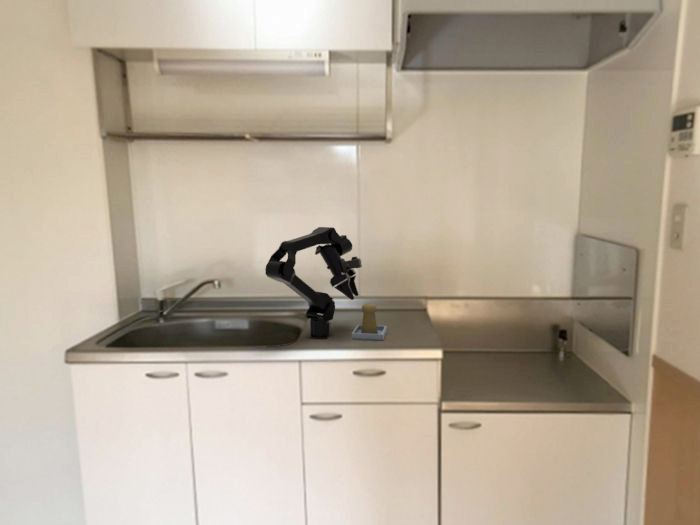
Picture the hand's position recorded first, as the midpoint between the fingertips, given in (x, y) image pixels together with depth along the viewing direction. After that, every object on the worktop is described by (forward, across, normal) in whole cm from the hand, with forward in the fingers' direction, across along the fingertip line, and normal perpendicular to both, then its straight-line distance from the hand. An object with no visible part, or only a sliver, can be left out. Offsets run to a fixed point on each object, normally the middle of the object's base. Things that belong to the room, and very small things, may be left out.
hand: (355, 297), depth 167 cm
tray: (+14, 0, +3) cm, 15 cm away
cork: (+14, 0, +2) cm, 14 cm away
